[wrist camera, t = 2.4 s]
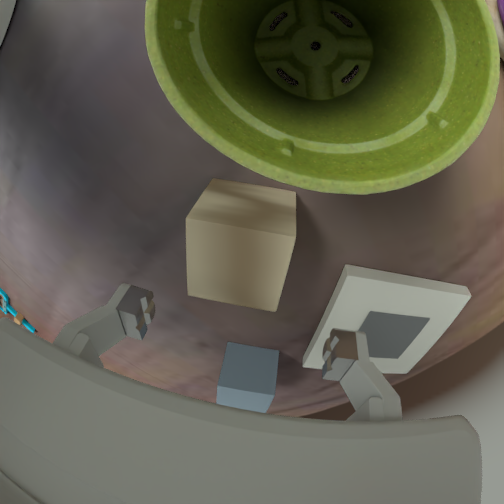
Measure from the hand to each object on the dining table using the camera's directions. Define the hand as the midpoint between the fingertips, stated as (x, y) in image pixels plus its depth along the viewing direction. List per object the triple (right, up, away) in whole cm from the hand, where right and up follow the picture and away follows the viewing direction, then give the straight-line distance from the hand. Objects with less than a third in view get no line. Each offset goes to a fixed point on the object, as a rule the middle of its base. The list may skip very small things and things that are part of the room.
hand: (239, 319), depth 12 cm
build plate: (+12, -4, +10) cm, 16 cm away
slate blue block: (0, -8, +15) cm, 17 cm away
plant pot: (+4, +13, -1) cm, 14 cm away
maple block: (0, +5, +6) cm, 8 cm away
